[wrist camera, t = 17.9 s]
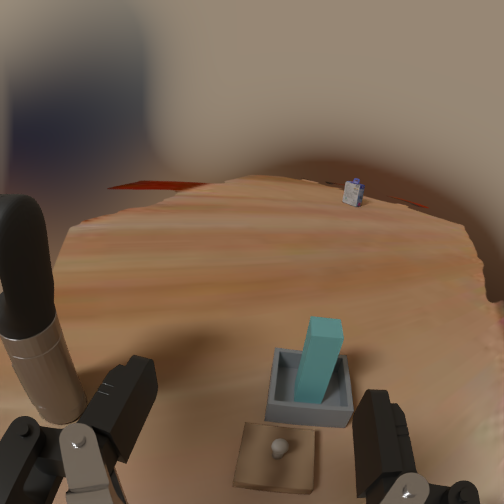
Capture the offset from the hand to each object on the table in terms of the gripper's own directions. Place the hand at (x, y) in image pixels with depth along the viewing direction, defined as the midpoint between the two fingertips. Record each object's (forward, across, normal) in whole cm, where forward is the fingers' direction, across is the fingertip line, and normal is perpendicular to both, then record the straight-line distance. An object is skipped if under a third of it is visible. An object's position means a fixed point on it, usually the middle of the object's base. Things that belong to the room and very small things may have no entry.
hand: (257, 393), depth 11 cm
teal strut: (+27, +8, -31) cm, 42 cm away
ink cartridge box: (+161, +37, -34) cm, 169 cm away
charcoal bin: (+27, +8, -32) cm, 42 cm away
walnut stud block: (+13, +4, -32) cm, 34 cm away
